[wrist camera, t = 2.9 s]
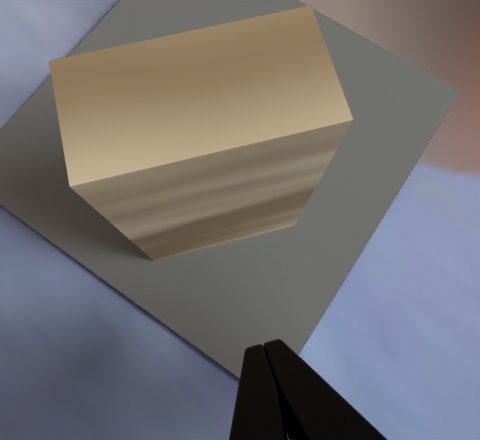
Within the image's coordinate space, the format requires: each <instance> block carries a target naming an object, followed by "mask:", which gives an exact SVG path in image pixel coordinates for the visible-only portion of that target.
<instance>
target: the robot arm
mask: <svg viewBox="0 0 480 440" xmlns="http://www.w3.org/2000/svg"><path fill="white" fill-rule="evenodd" d="M287 436H288V437H287ZM288 439H289V440H387V439H386V438H385V437H384V436H383V435H382V434H381V433H380V432H379V431H378V430H377V429H376V428H375V427H374V426H373V425H371V424H370V423H369V422H368V421H367V420H366V419H365V418H364V417H363V416H362V415H361V414H360V413H359V412H358V411H357V410H356V409H354V408H353V407H352V406H351V405H350V404H349V403H348V402H347V401H346V400H345V399H344V398H343V397H342V396H341V395H340V394H339V393H338V392H336V391H335V390H334V389H333V388H332V387H331V386H330V385H329V384H328V383H327V382H326V381H325V380H324V379H323V378H322V377H321V376H320V375H318V374H317V373H316V372H315V371H314V370H313V369H312V368H311V367H310V366H309V365H308V364H307V363H306V362H305V361H304V360H303V359H302V358H300V357H299V356H298V355H297V354H296V353H295V352H294V351H293V350H292V349H291V348H290V347H289V346H288V345H287V344H286V343H285V342H284V341H282V340H281V339H275V340H272V341H268V342H265V343H264V345H262V344H257V345H254V346H250V347H247V348H246V349H245V352H244V357H243V363H242V369H241V374H240V380H239V386H238V391H237V397H236V403H235V408H234V414H233V420H232V425H231V431H230V437H229V440H288Z"/></svg>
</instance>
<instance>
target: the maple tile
mask: <svg viewBox="0 0 480 440" xmlns="http://www.w3.org/2000/svg"><path fill="white" fill-rule="evenodd" d="M49 65H50V71H51V77H52V83H53V89H54V95H55V101H56V107H57V113H58V119H59V125H60V132H61V138H62V144H63V150H64V156H65V162H66V168H67V174H68V180H69V186H70V187H71V188H72V189H73V190H74V191H75V192H76V193H77V194H78V195H80V196H81V197H82V198H83V199H84V200H85V201H86V202H88V203H89V204H90V205H91V206H92V207H93V208H94V209H95V210H97V211H98V212H99V213H100V214H101V215H102V216H103V217H105V218H106V219H107V220H108V221H109V222H110V223H111V224H112V225H114V226H115V227H116V228H117V229H118V230H119V231H120V232H122V233H123V234H124V235H125V236H126V237H127V238H128V239H129V240H131V241H132V242H133V243H134V244H135V245H136V246H137V247H138V248H140V249H141V250H142V251H143V252H144V253H145V254H146V255H148V256H149V257H150V258H151V259H152V260H153V261H156V260H160V259H164V258H168V257H172V256H176V255H180V254H184V253H188V252H192V251H196V250H200V249H204V248H208V247H212V246H216V245H219V244H223V243H227V242H231V241H235V240H239V239H243V238H247V237H251V236H255V235H259V234H263V233H267V232H271V231H275V230H279V229H283V228H287V227H291V226H294V225H295V224H296V222H297V220H298V219H299V217H300V215H301V213H302V211H303V210H304V208H305V206H306V204H307V202H308V201H309V199H310V197H311V195H312V193H313V192H314V190H315V188H316V186H317V184H318V183H319V181H320V179H321V177H322V175H323V174H324V172H325V170H326V168H327V166H328V165H329V163H330V161H331V159H332V157H333V156H334V154H335V152H336V150H337V148H338V147H339V145H340V143H341V141H342V139H343V138H344V136H345V134H346V132H347V130H348V129H349V127H350V125H351V123H352V121H353V117H352V115H351V112H350V109H349V107H348V104H347V101H346V98H345V96H344V93H343V90H342V87H341V85H340V82H339V79H338V77H337V74H336V71H335V68H334V66H333V63H332V60H331V57H330V55H329V52H328V49H327V47H326V44H325V41H324V38H323V36H322V33H321V30H320V27H319V25H318V22H317V19H316V17H315V14H314V11H313V8H312V6H311V5H310V6H305V7H301V8H296V9H291V10H286V11H282V12H277V13H272V14H268V15H263V16H258V17H253V18H249V19H244V20H239V21H234V22H230V23H225V24H220V25H216V26H211V27H206V28H201V29H197V30H192V31H187V32H182V33H178V34H173V35H168V36H164V37H159V38H154V39H149V40H145V41H140V42H135V43H131V44H126V45H121V46H116V47H112V48H107V49H102V50H97V51H93V52H88V53H83V54H79V55H74V56H69V57H64V58H60V59H55V60H50V61H49Z"/></svg>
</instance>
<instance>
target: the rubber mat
mask: <svg viewBox="0 0 480 440" xmlns="http://www.w3.org/2000/svg"><path fill="white" fill-rule="evenodd" d="M305 6H307V5H305V4H304V3H302V2H300V1H298V0H120V1H119V2H118V3H117V4H116V5H115V6H114V7H113V8H112V9H111V11H110V12H109V13H108V14H107V15H106V16H105V17H104V18H103V19H102V20H101V21H100V22H99V24H98V25H97V26H96V27H95V28H94V29H93V30H92V31H91V32H90V33H89V34H88V35H87V37H86V38H85V39H84V40H83V41H82V42H81V43H80V44H79V45H78V46H77V47H76V48H75V49H74V51H73V52H72V53H71V54H70V55H69V56H74V55H79V54H83V53H88V52H93V51H97V50H102V49H107V48H112V47H116V46H121V45H126V44H131V43H135V42H140V41H145V40H149V39H154V38H159V37H164V36H168V35H173V34H178V33H182V32H187V31H192V30H197V29H201V28H206V27H211V26H216V25H220V24H225V23H230V22H234V21H239V20H244V19H249V18H253V17H258V16H263V15H268V14H272V13H277V12H282V11H286V10H291V9H296V8H301V7H305ZM313 11H314V14H315V17H316V19H317V22H318V25H319V27H320V30H321V33H322V36H323V38H324V41H325V44H326V47H327V49H328V52H329V55H330V57H331V60H332V63H333V66H334V68H335V71H336V74H337V77H338V79H339V82H340V85H341V87H342V90H343V93H344V96H345V98H346V101H347V104H348V107H349V109H350V112H351V115H352V117H353V121H352V123H351V125H350V127H349V129H348V130H347V132H346V134H345V136H344V138H343V139H342V141H341V143H340V145H339V147H338V148H337V150H336V152H335V154H334V156H333V157H332V159H331V161H330V163H329V165H328V166H327V168H326V170H325V172H324V174H323V175H322V177H321V179H320V181H319V183H318V184H317V186H316V188H315V190H314V192H313V193H312V195H311V197H310V199H309V201H308V202H307V204H306V206H305V208H304V210H303V211H302V213H301V215H300V217H299V219H298V220H297V222H296V224H295V225H294V226H291V227H287V228H283V229H279V230H275V231H271V232H267V233H263V234H259V235H255V236H251V237H247V238H243V239H239V240H235V241H231V242H227V243H223V244H219V245H216V246H212V247H208V248H204V249H200V250H196V251H192V252H188V253H184V254H180V255H176V256H172V257H168V258H164V259H160V260H156V261H153V260H152V259H151V258H150V257H149V256H148V255H146V254H145V253H144V252H143V251H142V250H141V249H140V248H138V247H137V246H136V245H135V244H134V243H133V242H132V241H131V240H129V239H128V238H127V237H126V236H125V235H124V234H123V233H122V232H120V231H119V230H118V229H117V228H116V227H115V226H114V225H112V224H111V223H110V222H109V221H108V220H107V219H106V218H105V217H103V216H102V215H101V214H100V213H99V212H98V211H97V210H95V209H94V208H93V207H92V206H91V205H90V204H89V203H88V202H86V201H85V200H84V199H83V198H82V197H81V196H80V195H78V194H77V193H76V192H75V191H74V190H73V189H72V188H71V187H70V186H69V180H68V174H67V168H66V162H65V156H64V150H63V144H62V138H61V132H60V125H59V119H58V113H57V107H56V101H55V95H54V89H53V83H52V77H51V75H50V77H49V78H48V79H47V80H46V81H45V82H44V83H43V84H42V85H41V86H40V87H39V88H38V90H37V91H36V92H35V93H34V94H33V95H32V96H31V97H30V98H29V99H28V100H27V101H26V102H25V104H24V105H23V106H22V107H21V108H20V109H19V110H18V111H17V112H16V113H15V114H14V115H13V117H12V118H11V119H10V120H9V121H8V122H7V123H6V124H5V125H4V126H3V127H2V128H1V130H0V205H1V206H2V207H4V208H5V209H7V210H8V211H9V212H11V213H12V214H13V215H15V216H16V217H18V218H19V219H20V220H22V221H23V222H25V223H26V224H27V225H29V226H30V227H31V228H33V229H34V230H36V231H37V232H38V233H40V234H41V235H42V236H44V237H45V238H47V239H48V240H49V241H51V242H52V243H53V244H55V245H56V246H58V247H59V248H60V249H62V250H63V251H64V252H66V253H67V254H69V255H70V256H71V257H73V258H74V259H75V260H77V261H78V262H80V263H81V264H82V265H84V266H85V267H86V268H88V269H89V270H91V271H92V272H93V273H95V274H96V275H98V276H99V277H100V278H102V279H103V280H104V281H106V282H107V283H109V284H110V285H111V286H113V287H114V288H115V289H117V290H118V291H120V292H121V293H122V294H124V295H125V296H126V297H128V298H129V299H131V300H132V301H133V302H135V303H136V304H137V305H139V306H140V307H142V308H143V309H144V310H146V311H147V312H148V313H150V314H151V315H153V316H154V317H155V318H157V319H158V320H159V321H161V322H162V323H164V324H165V325H166V326H168V327H169V328H171V329H172V330H173V331H175V332H176V333H177V334H179V335H180V336H182V337H183V338H184V339H186V340H187V341H188V342H190V343H191V344H193V345H194V346H195V347H197V348H198V349H199V350H201V351H202V352H204V353H205V354H206V355H208V356H209V357H210V358H212V359H213V360H215V361H216V362H217V363H219V364H220V365H221V366H223V367H224V368H226V369H227V370H228V371H230V372H231V373H232V374H234V375H235V376H237V377H238V378H239V379H240V374H241V369H242V363H243V357H244V352H245V349H246V348H247V347H250V346H254V345H257V344H262V345H264V343H265V342H268V341H272V340H275V339H281V340H282V341H284V342H285V343H286V344H287V345H288V346H289V347H290V348H291V349H292V350H293V351H294V352H295V353H296V354H297V355H299V354H300V352H301V350H302V349H303V347H304V345H305V344H306V342H307V341H308V339H309V337H310V336H311V334H312V332H313V331H314V329H315V328H316V326H317V324H318V323H319V321H320V319H321V318H322V316H323V315H324V313H325V311H326V310H327V308H328V306H329V305H330V303H331V302H332V300H333V298H334V297H335V295H336V293H337V292H338V290H339V289H340V287H341V285H342V284H343V282H344V280H345V279H346V277H347V275H348V274H349V272H350V271H351V269H352V267H353V266H354V264H355V262H356V261H357V259H358V258H359V256H360V254H361V253H362V251H363V249H364V248H365V246H366V245H367V243H368V241H369V240H370V238H371V236H372V235H373V233H374V232H375V230H376V228H377V227H378V225H379V223H380V222H381V220H382V219H383V217H384V215H385V214H386V212H387V210H388V209H389V207H390V206H391V204H392V202H393V201H394V199H395V197H396V196H397V194H398V193H399V191H400V189H401V188H402V186H403V184H404V183H405V181H406V180H407V178H408V176H409V175H410V173H411V171H412V170H413V168H414V166H415V165H416V163H417V162H418V160H419V158H420V157H421V155H422V153H423V152H424V150H425V148H426V147H427V145H428V144H429V142H430V140H431V139H432V137H433V135H434V134H435V132H436V131H437V129H438V127H439V126H440V124H441V123H442V121H443V119H444V118H445V116H446V114H447V113H448V111H449V109H450V108H451V106H452V105H453V103H454V101H455V100H456V98H457V96H458V95H459V93H460V91H458V90H457V89H455V88H453V87H451V86H449V85H448V84H446V83H444V82H442V81H441V80H439V79H437V78H435V77H433V76H432V75H430V74H428V73H426V72H424V71H423V70H421V69H419V68H417V67H415V66H414V65H412V64H410V63H409V62H407V61H405V60H403V59H401V58H400V57H398V56H396V55H394V54H393V53H391V52H389V51H387V50H385V49H384V48H382V47H380V46H378V45H377V44H375V43H373V42H371V41H369V40H368V39H366V38H364V37H362V36H361V35H359V34H357V33H355V32H353V31H352V30H350V29H348V28H346V27H344V26H343V25H341V24H339V23H337V22H336V21H334V20H332V19H330V18H328V17H327V16H325V15H323V14H321V13H319V12H318V11H316V10H314V9H313ZM69 56H68V57H69Z"/></svg>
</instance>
